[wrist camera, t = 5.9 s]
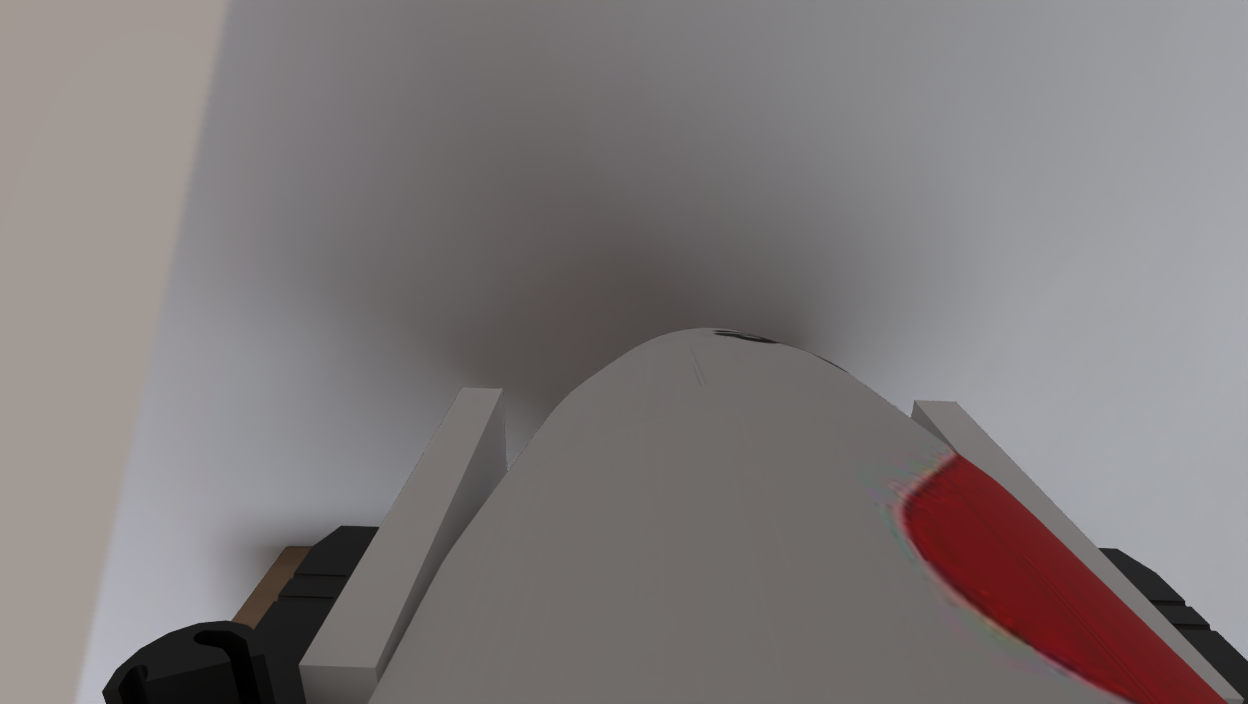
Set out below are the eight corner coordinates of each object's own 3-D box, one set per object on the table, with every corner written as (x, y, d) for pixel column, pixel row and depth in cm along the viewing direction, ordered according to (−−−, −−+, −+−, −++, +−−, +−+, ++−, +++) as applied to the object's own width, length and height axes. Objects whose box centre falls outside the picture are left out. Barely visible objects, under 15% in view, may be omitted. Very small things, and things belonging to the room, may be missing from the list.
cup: (965, 533, 14) (1606, 1438, 5) (609, 660, 15) (556, 1534, 6) (825, 163, 11) (1639, 534, 2) (415, 359, 13) (-180, 1085, 4)
